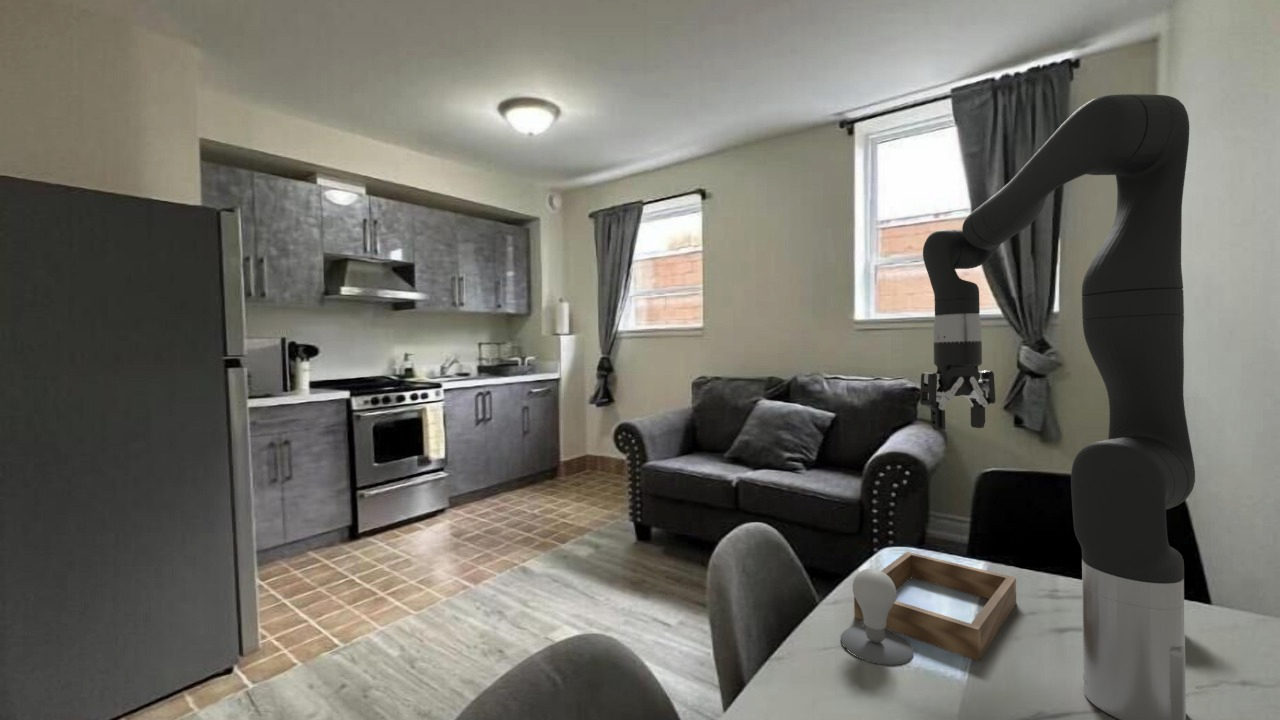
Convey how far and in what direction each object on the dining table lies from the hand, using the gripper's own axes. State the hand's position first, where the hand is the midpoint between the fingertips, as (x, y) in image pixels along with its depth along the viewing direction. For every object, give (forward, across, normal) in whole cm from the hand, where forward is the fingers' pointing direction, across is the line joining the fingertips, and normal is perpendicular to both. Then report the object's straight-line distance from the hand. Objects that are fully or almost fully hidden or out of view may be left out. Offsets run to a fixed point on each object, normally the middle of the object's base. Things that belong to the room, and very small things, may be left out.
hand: (958, 428), depth 96 cm
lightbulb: (+30, -26, -10) cm, 41 cm away
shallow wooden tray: (+30, -9, -4) cm, 32 cm away
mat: (+30, -26, -10) cm, 41 cm away
